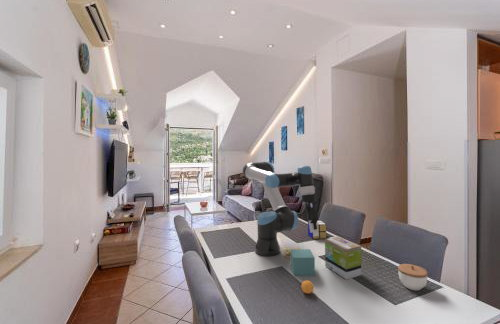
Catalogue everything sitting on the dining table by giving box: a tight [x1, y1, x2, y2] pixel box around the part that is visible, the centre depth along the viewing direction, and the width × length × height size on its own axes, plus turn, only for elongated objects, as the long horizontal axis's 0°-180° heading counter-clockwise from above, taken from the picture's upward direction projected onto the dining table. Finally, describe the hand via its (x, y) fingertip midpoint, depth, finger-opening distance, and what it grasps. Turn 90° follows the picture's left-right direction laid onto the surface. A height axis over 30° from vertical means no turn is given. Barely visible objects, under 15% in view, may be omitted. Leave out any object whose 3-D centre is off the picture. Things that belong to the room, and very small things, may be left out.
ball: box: [300, 279, 314, 295], centre depth 102 cm, size 5×5×5 cm
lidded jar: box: [397, 263, 429, 292], centre depth 105 cm, size 11×11×9 cm
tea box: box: [324, 236, 362, 280], centre depth 120 cm, size 15×10×15 cm, turn 23°
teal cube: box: [289, 248, 316, 277], centre depth 121 cm, size 10×10×9 cm
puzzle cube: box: [307, 220, 327, 240], centre depth 171 cm, size 10×10×10 cm
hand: (314, 234), depth 128 cm, fingers open, 13 cm apart
